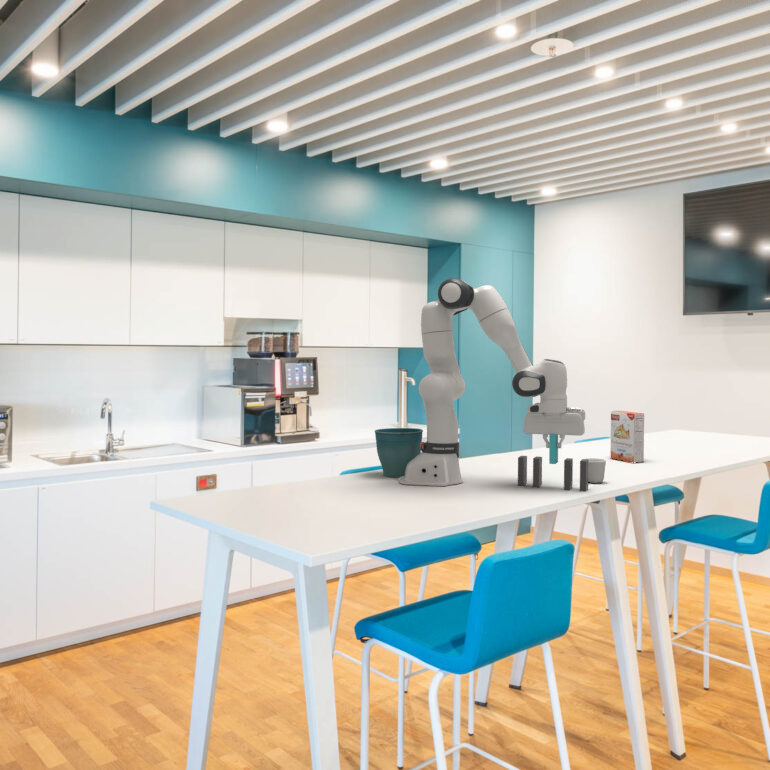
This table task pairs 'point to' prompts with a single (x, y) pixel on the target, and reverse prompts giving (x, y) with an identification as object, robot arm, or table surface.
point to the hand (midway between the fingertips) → (553, 448)
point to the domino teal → (553, 449)
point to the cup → (596, 470)
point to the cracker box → (627, 436)
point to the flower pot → (397, 449)
